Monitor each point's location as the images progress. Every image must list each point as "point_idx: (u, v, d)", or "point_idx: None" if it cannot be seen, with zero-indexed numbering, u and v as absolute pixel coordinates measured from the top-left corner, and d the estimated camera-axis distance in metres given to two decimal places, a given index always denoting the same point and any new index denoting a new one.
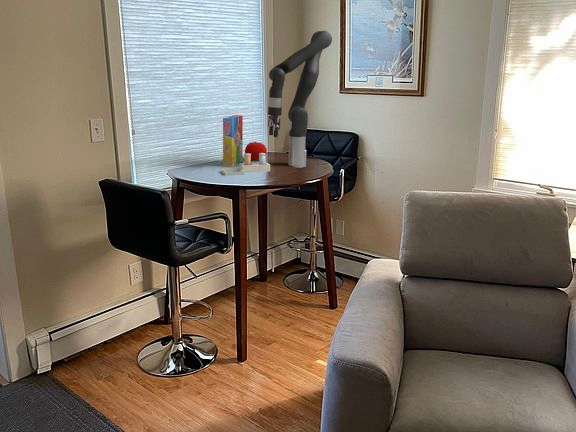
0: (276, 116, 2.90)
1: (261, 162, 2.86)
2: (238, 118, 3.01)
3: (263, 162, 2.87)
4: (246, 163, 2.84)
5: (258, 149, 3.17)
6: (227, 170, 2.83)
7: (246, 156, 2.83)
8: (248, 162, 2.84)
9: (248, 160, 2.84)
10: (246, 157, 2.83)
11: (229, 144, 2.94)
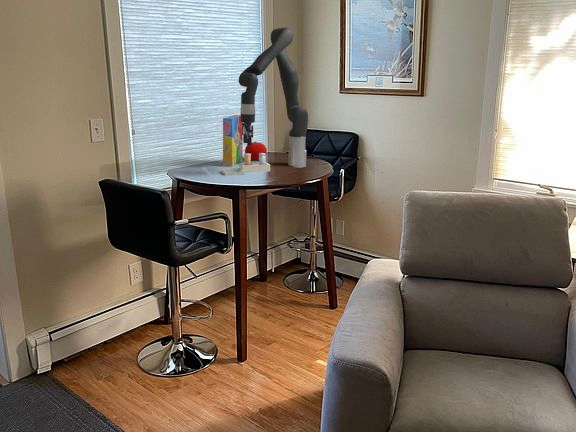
0: (249, 123, 2.76)
1: (261, 162, 2.86)
2: (238, 118, 3.01)
3: (263, 162, 2.87)
4: (246, 163, 2.84)
5: (258, 149, 3.17)
6: (227, 170, 2.83)
7: (246, 156, 2.83)
8: (248, 162, 2.84)
9: (248, 160, 2.84)
10: (246, 157, 2.83)
11: (229, 144, 2.94)
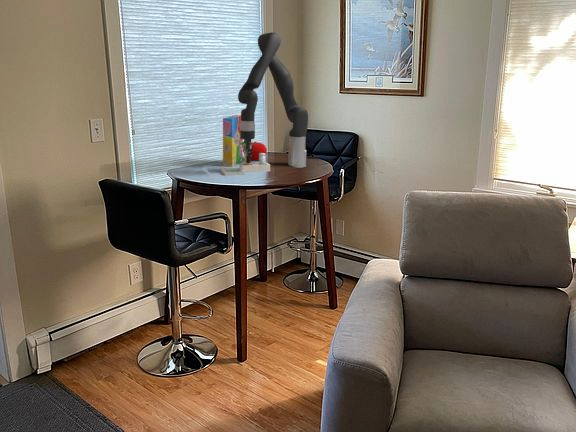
0: (249, 140, 2.78)
1: (261, 162, 2.86)
2: (238, 118, 3.01)
3: (263, 162, 2.87)
4: (246, 163, 2.84)
5: (258, 149, 3.17)
6: (227, 170, 2.83)
7: None
8: None
9: None
10: None
11: (229, 144, 2.94)
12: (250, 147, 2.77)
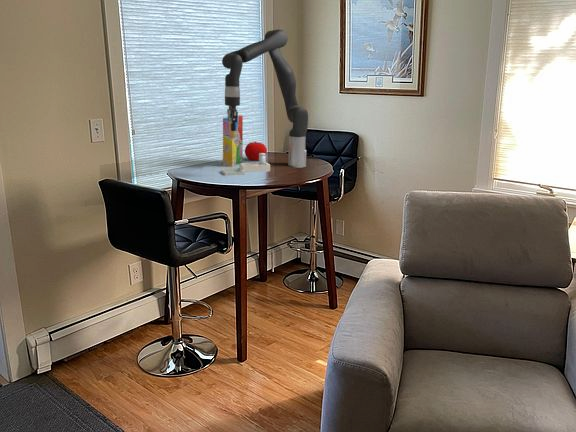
0: (234, 106, 2.67)
1: (261, 162, 2.86)
2: (238, 118, 3.01)
3: (263, 162, 2.87)
4: (231, 131, 2.73)
5: (258, 149, 3.17)
6: (227, 170, 2.83)
7: None
8: None
9: None
10: None
11: (229, 144, 2.94)
12: (235, 114, 2.66)
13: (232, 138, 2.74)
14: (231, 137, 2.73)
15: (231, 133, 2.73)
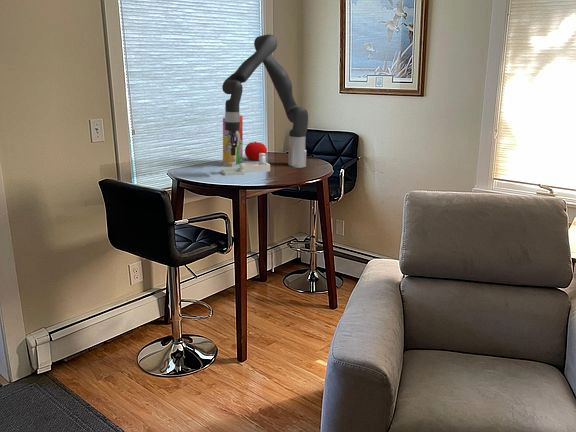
0: (234, 131, 2.71)
1: (261, 162, 2.86)
2: None
3: (263, 162, 2.87)
4: (231, 155, 2.76)
5: (258, 149, 3.17)
6: (227, 170, 2.83)
7: None
8: None
9: None
10: None
11: None
12: (234, 139, 2.69)
13: (232, 162, 2.77)
14: (231, 161, 2.77)
15: (231, 157, 2.76)
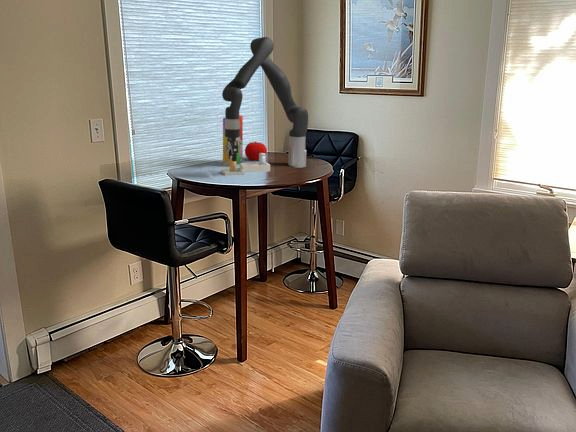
0: (234, 138, 2.72)
1: (261, 162, 2.86)
2: None
3: (263, 162, 2.87)
4: (231, 166, 2.78)
5: (258, 149, 3.17)
6: (227, 170, 2.83)
7: None
8: (233, 165, 2.77)
9: (234, 163, 2.77)
10: None
11: None
12: (235, 143, 2.69)
13: None
14: (231, 171, 2.78)
15: (232, 168, 2.78)
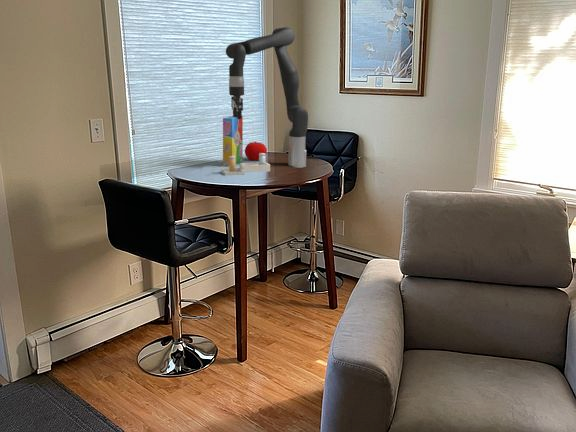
0: (238, 96, 2.69)
1: (261, 162, 2.86)
2: None
3: (263, 162, 2.87)
4: (231, 166, 2.78)
5: (258, 149, 3.17)
6: (227, 170, 2.83)
7: (230, 159, 2.77)
8: (233, 165, 2.78)
9: (233, 163, 2.77)
10: (230, 160, 2.77)
11: (229, 144, 2.94)
12: (240, 100, 2.67)
13: None
14: (231, 171, 2.78)
15: (231, 168, 2.78)
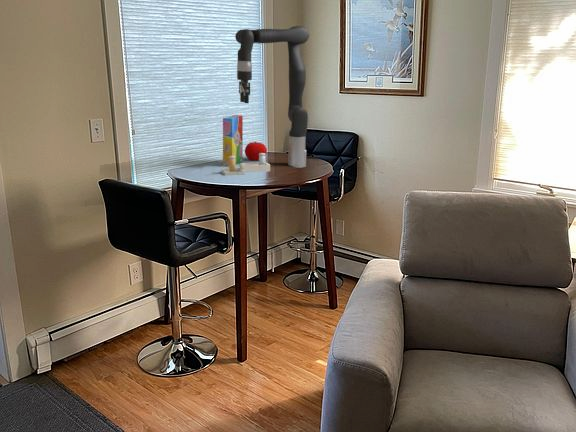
0: (246, 80, 2.75)
1: (261, 162, 2.86)
2: (238, 118, 3.01)
3: (263, 162, 2.87)
4: (231, 166, 2.77)
5: (258, 149, 3.17)
6: (227, 170, 2.83)
7: (230, 159, 2.76)
8: (233, 165, 2.77)
9: (233, 163, 2.77)
10: (230, 160, 2.77)
11: (229, 144, 2.94)
12: (247, 84, 2.72)
13: None
14: None
15: (231, 168, 2.78)
